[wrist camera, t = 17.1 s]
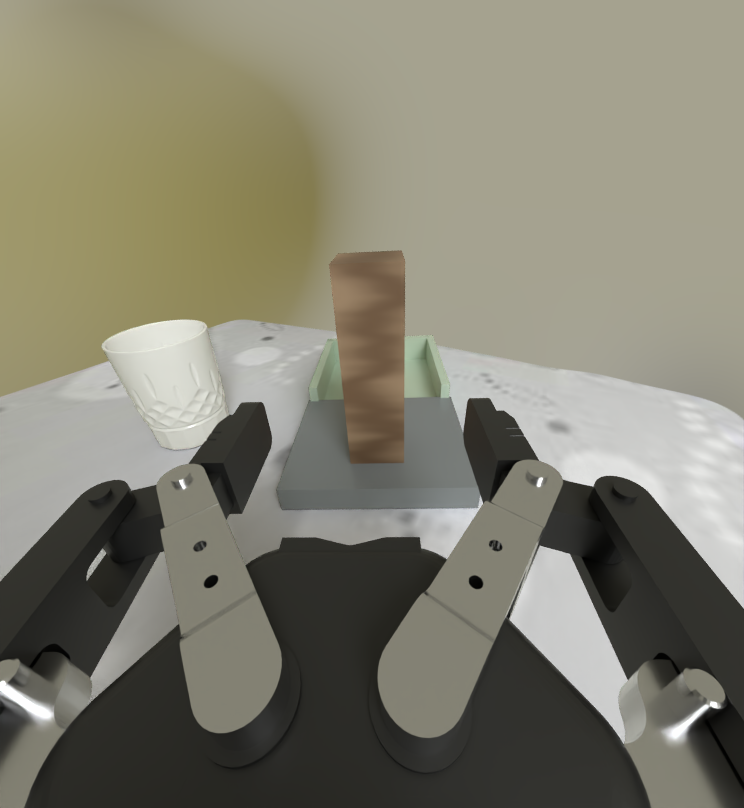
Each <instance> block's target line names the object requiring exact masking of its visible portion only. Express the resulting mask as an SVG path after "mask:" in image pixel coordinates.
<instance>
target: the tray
mask: <svg viewBox="0 0 744 808" xmlns="http://www.w3.org/2000/svg"><path fill="white" fill-rule="evenodd" d="M449 391H450V383H449V380H448V377H447V374H446V372H445V369H444V366H443V363H442V360H441V358H440V355H439V352H438V349H437V346H436V344H435V341H434V338H433V336H432V335H429V336H405V373H404V398H418V397H440V398H449ZM309 394H310V400H311V401H319V400H340V399H344V397H343V388H342V379H341V369H340V360H339V351H338V341H337V339H328V340H327V342H326V345H325V347H324V350H323V353H322V355H321V358H320V360H319V363H318V365H317V368H316V370H315V373H314V376H313V378H312V381H311V383H310V386H309Z"/></svg>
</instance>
